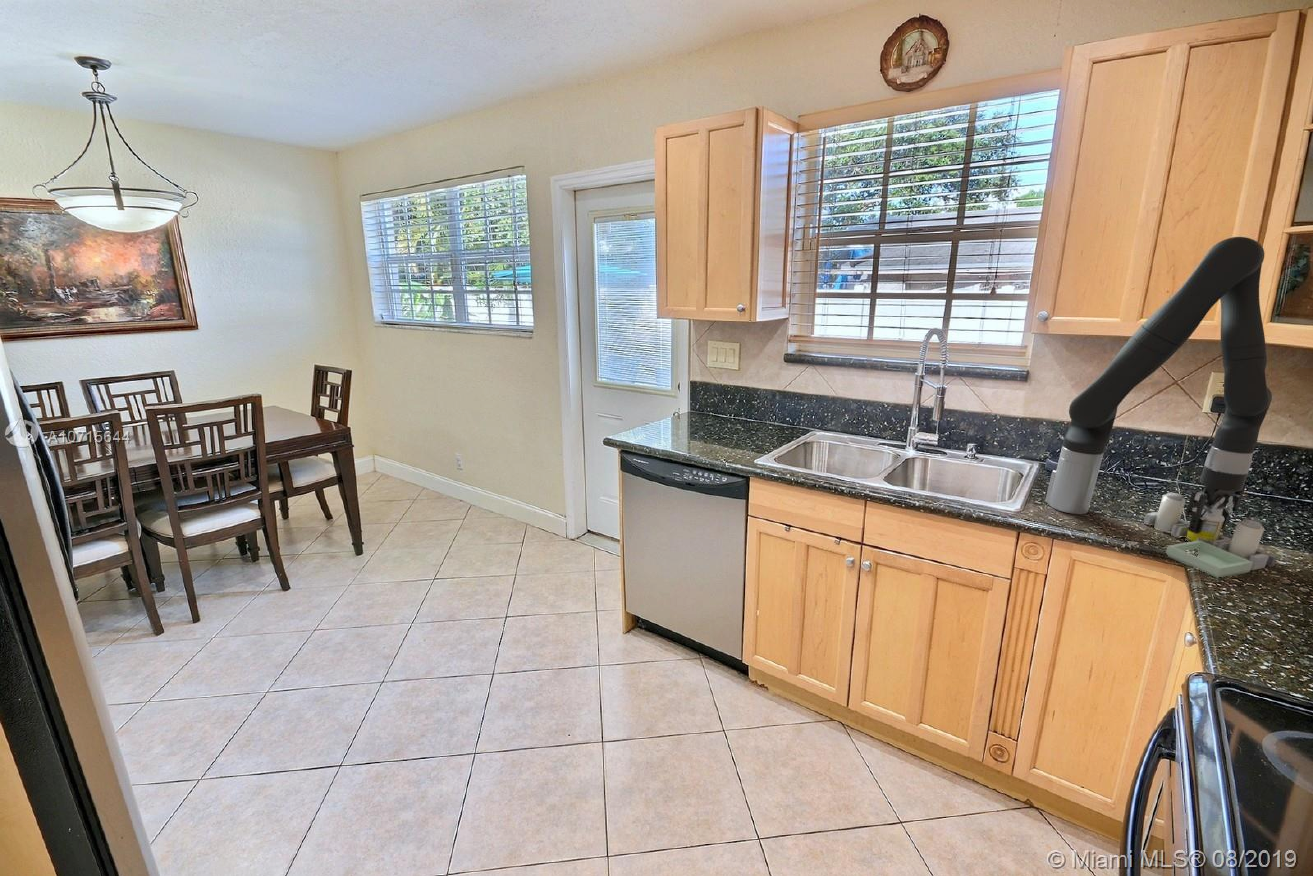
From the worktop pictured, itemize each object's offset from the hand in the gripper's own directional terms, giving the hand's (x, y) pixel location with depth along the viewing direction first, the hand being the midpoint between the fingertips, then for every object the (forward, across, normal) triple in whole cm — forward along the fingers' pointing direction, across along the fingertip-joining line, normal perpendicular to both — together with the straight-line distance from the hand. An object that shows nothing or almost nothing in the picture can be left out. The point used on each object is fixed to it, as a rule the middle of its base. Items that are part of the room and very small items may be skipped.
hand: (1206, 530), depth 142 cm
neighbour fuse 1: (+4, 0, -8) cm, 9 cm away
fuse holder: (+4, -1, 0) cm, 4 cm away
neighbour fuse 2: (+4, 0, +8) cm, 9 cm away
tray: (+4, +9, +7) cm, 12 cm away
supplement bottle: (+4, 0, 0) cm, 4 cm away
